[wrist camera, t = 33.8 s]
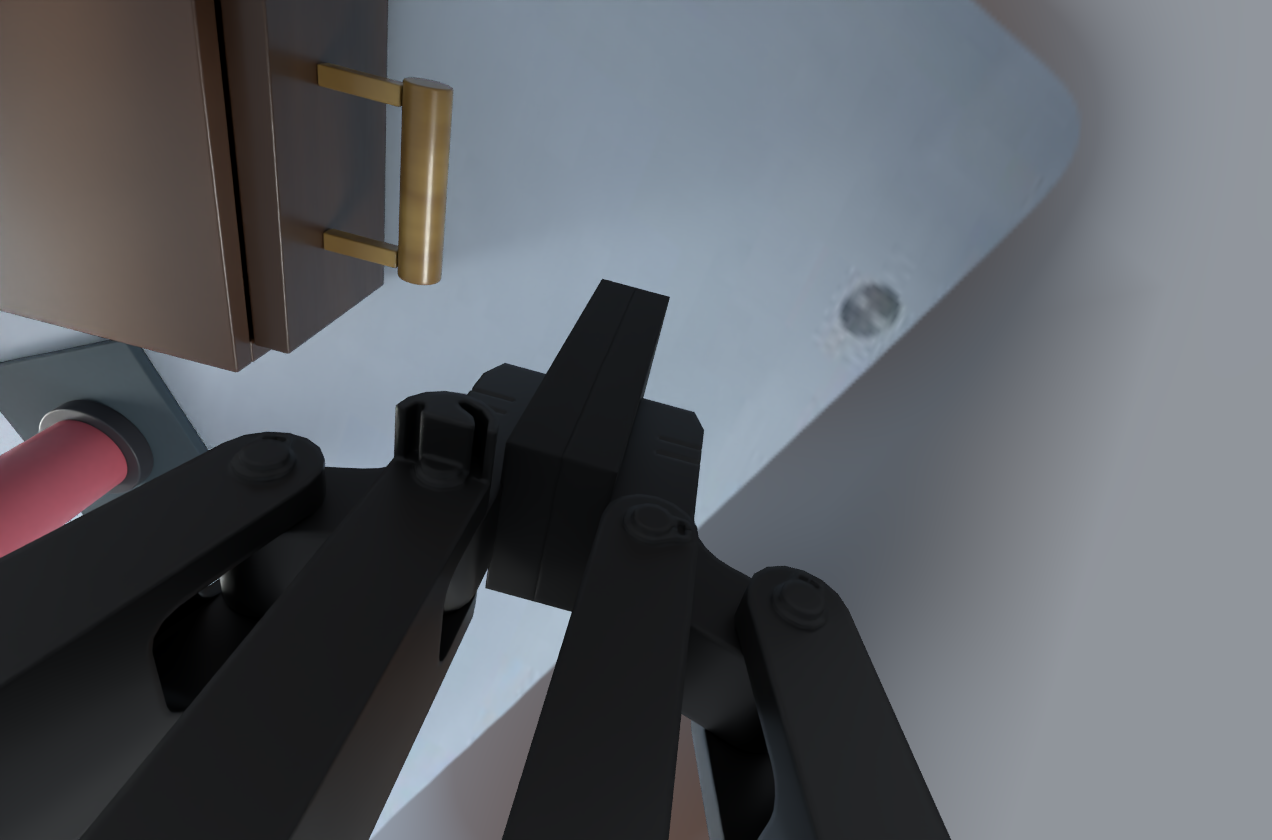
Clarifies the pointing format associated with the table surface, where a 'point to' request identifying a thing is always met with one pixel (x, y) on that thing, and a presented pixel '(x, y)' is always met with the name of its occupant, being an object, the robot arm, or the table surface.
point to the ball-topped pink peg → (67, 469)
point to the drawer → (325, 160)
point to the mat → (100, 398)
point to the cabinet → (121, 177)
